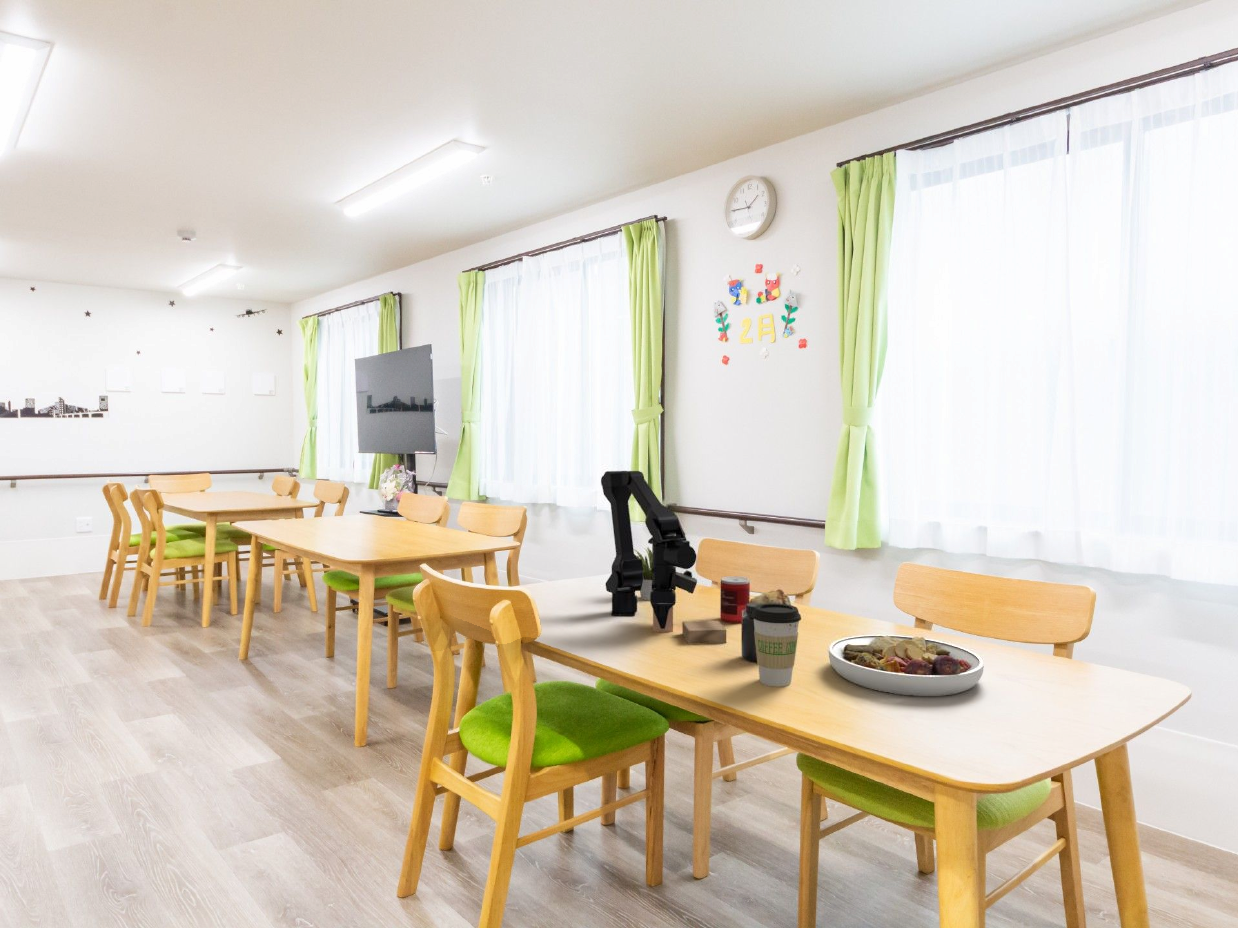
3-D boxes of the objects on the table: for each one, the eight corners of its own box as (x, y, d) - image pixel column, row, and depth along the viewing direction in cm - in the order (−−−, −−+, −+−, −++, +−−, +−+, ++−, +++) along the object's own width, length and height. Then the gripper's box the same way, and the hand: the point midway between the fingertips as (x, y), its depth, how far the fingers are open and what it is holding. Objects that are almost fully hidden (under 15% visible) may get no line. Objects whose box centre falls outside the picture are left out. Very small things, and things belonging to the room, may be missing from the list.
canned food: (748, 616, 213) (748, 576, 213) (750, 624, 205) (750, 582, 205) (719, 616, 214) (720, 575, 213) (720, 623, 206) (721, 581, 205)
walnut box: (688, 645, 186) (689, 630, 186) (682, 635, 195) (682, 621, 195) (726, 644, 187) (726, 629, 187) (717, 634, 196) (718, 620, 196)
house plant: (681, 594, 241) (681, 541, 240) (674, 604, 227) (674, 548, 227) (635, 592, 244) (635, 540, 243) (625, 601, 231) (626, 546, 230)
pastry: (804, 623, 207) (804, 592, 207) (760, 625, 204) (760, 595, 204) (779, 611, 221) (780, 582, 220) (738, 613, 218) (738, 584, 217)
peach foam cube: (652, 631, 197) (653, 607, 197) (653, 626, 202) (653, 603, 202) (672, 631, 197) (673, 608, 197) (672, 626, 202) (673, 603, 202)
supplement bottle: (775, 656, 176) (776, 603, 176) (768, 664, 170) (768, 609, 169) (745, 652, 179) (746, 600, 178) (737, 660, 173) (737, 606, 172)
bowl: (799, 664, 171) (800, 628, 171) (908, 650, 182) (909, 617, 182) (895, 710, 143) (896, 668, 143) (1017, 690, 154) (1018, 651, 154)
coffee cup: (771, 692, 152) (772, 615, 151) (740, 678, 160) (741, 605, 160) (810, 684, 156) (811, 610, 156) (779, 671, 165) (779, 600, 164)
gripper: (696, 570, 189) (696, 634, 190) (694, 557, 208) (693, 615, 208) (650, 569, 190) (649, 633, 191) (652, 556, 208) (651, 615, 209)
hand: (663, 623), depth 200 cm, fingers open, 9 cm apart
